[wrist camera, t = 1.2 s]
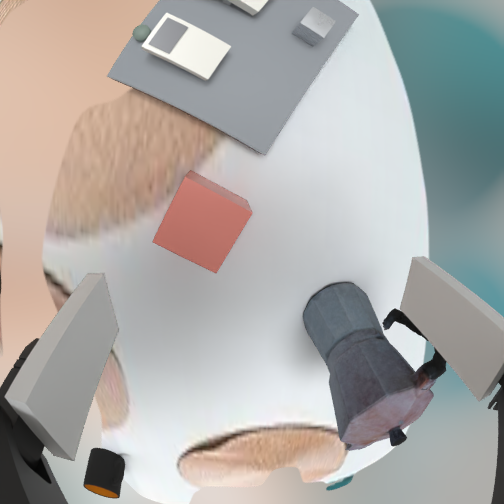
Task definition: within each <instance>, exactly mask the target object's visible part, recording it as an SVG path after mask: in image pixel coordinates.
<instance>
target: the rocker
mask: <svg viewBox="0 0 504 504" xmlns="http://www.w3.org/2000/svg"><path fill="white" fill-rule="evenodd" d="M141 47H142V50H144V51H146V52H148V53H151V54H153V55H155V56H157V57H159V58H161V59H164V60H166V61H168V62H170V63H172V64H174V65H176V66H178V67H180V68H182V69H184V70H186V71H188V72H190V73H191V74H193V75H195V76H197V77H199V78H201V79H203V80H204V81H206V80H208V79H209V78H210V76H211V75H212V73H213V72H214V70H215V69H216V67H217V66H218V64H219V63H220V62H221V60H222V59H223V57H224V56H225V54H226V53H227V52H228V50H229V49H230V48H231V46H230V45H228V44H226V43H225V42H223V41H221V40H219V39H218V38H216V37H214V36H212V35H211V34H209V33H207V32H205V31H203V30H201V29H199V28H197V27H196V26H194V25H192V24H190V23H188V22H186V21H184V20H181V19H179V18H177V17H175V16H173V15H171V14H169V13H166V14H165V15H164V16H163V17H162V19H161V20H160V21H159V23H158V24H157V25H156V27H155V28H154V29H153V31H152V32H151V34H150V35H149V36H148V38H147V39H146V41H145V42H144V43H143V45H142V46H141Z"/></svg>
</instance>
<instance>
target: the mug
mask: <svg viewBox="0 0 504 504" xmlns="http://www.w3.org/2000/svg"><path fill="white" fill-rule="evenodd" d="M124 470H125V462H124V459H123V458H122V457H121V456H119V455H118V454H116V453H114V452H112V451H109V450H106V449H101V448H93V449H92V450H91V453H90V457H89V461H88V466H87V470H86V475H85V479H84V487H85V488H86V489H88V490H89V491H91V492H93V493H95V494H98V495H101V496H104V497H108V498H119V497H120V489H121V482H122V480H123V476H124Z"/></svg>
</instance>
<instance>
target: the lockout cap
mask: <svg viewBox="0 0 504 504" xmlns="http://www.w3.org/2000/svg"><path fill="white" fill-rule="evenodd" d="M251 215H252V211H251V209H250V206H249V204H248V202H247V200H245V199H243V198H241V197H239V196H238V195H236V194H234V193H232V192H230V191H229V190H227V189H225V188H223V187H221V186H219V185H217V184H216V183H214V182H212V181H210V180H208V179H206V178H204V177H203V176H201V175H199V174H197V173H195V172H193V171H191V170H190V172H189V173H188V174H187V175H186V176H185V178H184V180H183V182H182V183H181V185H180V187H179V189H178V191H177V193H176V195H175V197H174V199H173V201H172V203H171V205H170V207H169V209H168V211H167V213H166V215H165V217H164V219H163V221H162V223H161V225H160V227H159V229H158V231H157V233H156V235H155V237H154V240H153V243H155V244H157V245H159V246H161V247H163V248H165V249H167V250H169V251H171V252H173V253H175V254H177V255H179V256H181V257H183V258H185V259H187V260H189V261H191V262H194V263H196V264H198V265H200V266H202V267H204V268H206V269H208V270H210V271H212V272H214V273H217V271H218V270H219V268H220V266H221V265H222V263H223V261H224V260H225V258H226V256H227V254H228V253H229V251H230V249H231V248H232V246H233V244H234V243H235V241H236V239H237V238H238V236H239V234H240V233H241V231H242V229H243V228H244V226H245V225H246V223H247V221H248V220H249V218H250V216H251Z"/></svg>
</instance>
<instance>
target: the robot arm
mask: <svg viewBox="0 0 504 504" xmlns="http://www.w3.org/2000/svg"><path fill="white" fill-rule="evenodd" d="M0 293H1V276H0ZM400 310H401V311H402V312H403V313H404V314H405V315H406V316H407V317H408V318H409V319H410V320H411V321H412V323H413V324H414V325H415V326H416V327H417V328H418V329H419V330H420V331H421V333H422V334H423V335H424V336H425V337H426V338H427V339H428V340H429V341H430V343H431V344H432V345H433V346H434V347H435V348H436V350H437V351H438V352H439V353H440V354H441V355H442V357H443V358H444V359H445V360H446V361H447V363H448V364H449V365H450V366H451V367H452V368H453V370H454V371H455V372H456V373H457V375H458V376H459V377H460V378H461V380H463V382H464V383H465V384H466V386H467V387H468V388H469V390H470V391H471V392H472V393H473V395H474V396H475V397H476V398H477V400H478V401H481V400H482V399H484V398H485V397H487V396H489V395H490V394H491V393H492V391H493V390H494V388H495V387H496V385H497V384H498V383H499V384H500V385H501V388H500V389H499V391H498V392H497V394H496V395H495V396H494V398H493V400H492V401H491V402H490V403H489V406H488V409H490V408H491V407H492V406H493V404H494V403H495V402H497V403H496V405H495V406H494V408H493V410H498V433H499V434H498V456H497V468H496V477H495V485H494V492H493V498H492V503H491V504H504V317H502V316H501V315H500V314H499V313H498V312H497V311H495V310H494V309H493V308H492V307H490V306H489V305H488V304H487V303H486V302H484V301H483V300H482V299H481V298H479V297H478V296H477V295H476V294H474V293H473V292H472V291H471V290H469V289H468V288H467V287H465V286H464V285H463V284H461V283H460V282H459V281H458V280H456V279H455V278H453V277H452V276H451V275H449V274H448V273H447V272H445V271H444V270H443V269H441V268H440V267H439V266H437V265H436V264H434V263H433V262H431V261H430V260H429V259H427V258H426V257H424V256H423V257H412V262H411V266H410V271H409V275H408V279H407V283H406V287H405V291H404V295H403V299H402V302H401V306H400ZM118 331H119V328H118V324H117V321H116V318H115V314H114V310H113V307H112V303H111V299H110V295H109V291H108V287H107V283H106V279H105V275H104V273H92V274H87V275H86V277H85V278H84V279H83V280H82V282H81V283H80V284H79V285H78V287H77V288H76V289H75V290H74V292H73V293H72V294H71V296H70V297H69V298H68V300H67V301H66V302H65V304H64V305H63V306H62V308H61V309H60V310H59V312H58V313H57V315H56V316H55V317H54V319H53V320H52V322H51V323H50V325H49V326H48V327H47V329H46V330H45V332H44V333H43V335H42V336H41V338H40V339H38V338H36V339H35V340H34V341H32V342H31V343H30V344H29V345H27V346H26V347H25V349H24V350H23V352H22V353H21V355H20V357H19V360H17V361H16V363H15V364H14V368H12V369H11V371H10V372H9V374H8V376H7V377H6V379H5V381H4V382H3V384H2V386H1V387H0V504H68V503H67V501H66V499H65V497H64V495H63V493H62V491H61V490H60V487H59V485H58V483H57V481H56V479H55V477H54V475H53V473H52V471H51V469H50V466H49V464H48V462H47V459H46V458H45V456H44V455H43V454H42V451H43V448H44V446H45V447H46V448H47V449H48V450H49V451H50V452H51V453H52V454H53V455H54V456H57V457H61V458H64V459H68V460H72V461H74V460H75V456H76V453H77V449H78V445H79V442H80V438H81V435H82V432H83V428H84V425H85V422H86V418H87V415H88V412H89V409H90V406H91V403H92V400H93V397H94V394H95V391H96V389H97V386H98V383H99V380H100V377H101V375H102V372H103V369H104V367H105V364H106V361H107V359H108V356H109V353H110V351H111V348H112V346H113V343H114V341H115V338H116V336H117V334H118Z"/></svg>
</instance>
